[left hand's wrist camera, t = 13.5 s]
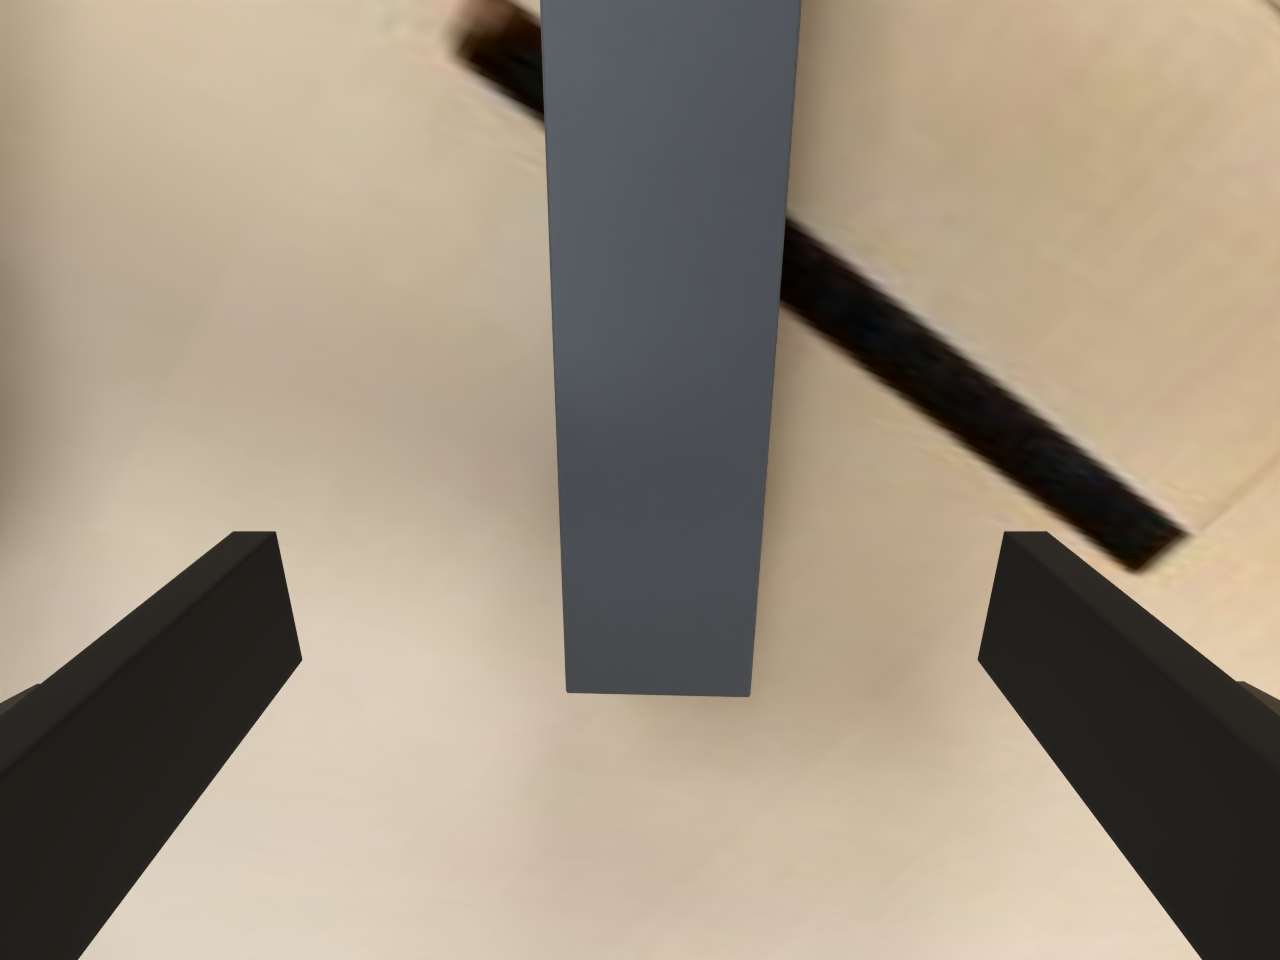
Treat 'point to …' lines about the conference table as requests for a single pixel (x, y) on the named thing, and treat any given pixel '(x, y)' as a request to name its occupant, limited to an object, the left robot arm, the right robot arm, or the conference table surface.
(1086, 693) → the left robot arm
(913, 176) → the conference table surface
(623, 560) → the post
